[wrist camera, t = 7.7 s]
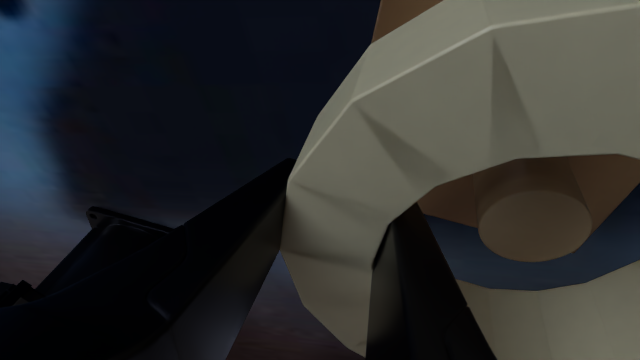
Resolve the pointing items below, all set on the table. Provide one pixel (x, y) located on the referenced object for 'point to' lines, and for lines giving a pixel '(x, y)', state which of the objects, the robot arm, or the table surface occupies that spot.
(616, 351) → the tape roll
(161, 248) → the robot arm
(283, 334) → the table surface
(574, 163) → the stand
